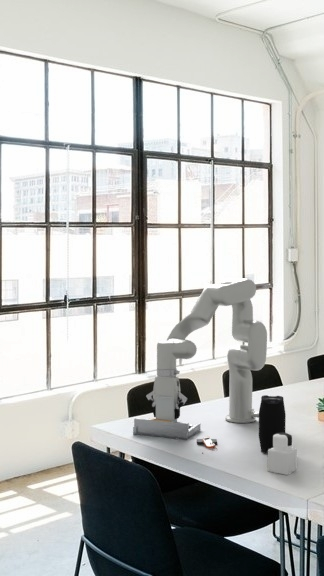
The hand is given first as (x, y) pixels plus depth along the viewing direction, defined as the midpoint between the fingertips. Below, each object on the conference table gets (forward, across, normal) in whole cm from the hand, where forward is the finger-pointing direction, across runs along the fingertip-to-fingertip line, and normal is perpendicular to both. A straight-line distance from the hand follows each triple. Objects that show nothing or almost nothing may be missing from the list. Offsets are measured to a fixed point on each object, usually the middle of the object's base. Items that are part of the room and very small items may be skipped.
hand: (166, 417), depth 275 cm
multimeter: (+7, -23, +14) cm, 28 cm away
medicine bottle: (+6, -52, +30) cm, 60 cm away
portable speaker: (+6, -44, +10) cm, 46 cm away
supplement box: (+4, 0, 0) cm, 4 cm away
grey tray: (+6, 0, -1) cm, 6 cm away
